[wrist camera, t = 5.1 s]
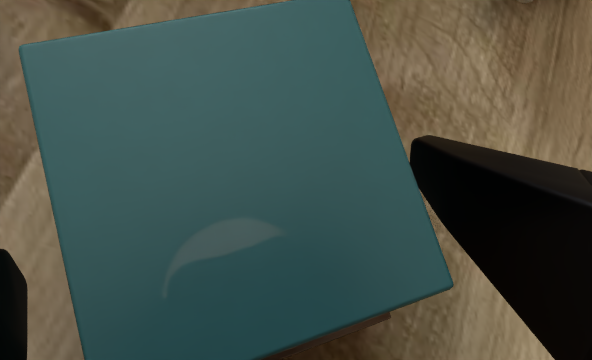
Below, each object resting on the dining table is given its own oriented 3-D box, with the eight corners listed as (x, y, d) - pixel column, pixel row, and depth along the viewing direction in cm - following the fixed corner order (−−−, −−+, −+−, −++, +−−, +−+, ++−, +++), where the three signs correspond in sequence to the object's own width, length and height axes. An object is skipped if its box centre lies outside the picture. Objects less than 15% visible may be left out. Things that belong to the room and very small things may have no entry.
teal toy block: (329, 284, 14) (457, 287, 7) (165, 339, 13) (96, 422, 5) (281, 134, 15) (347, -11, 8) (124, 172, 14) (15, 43, 6)
